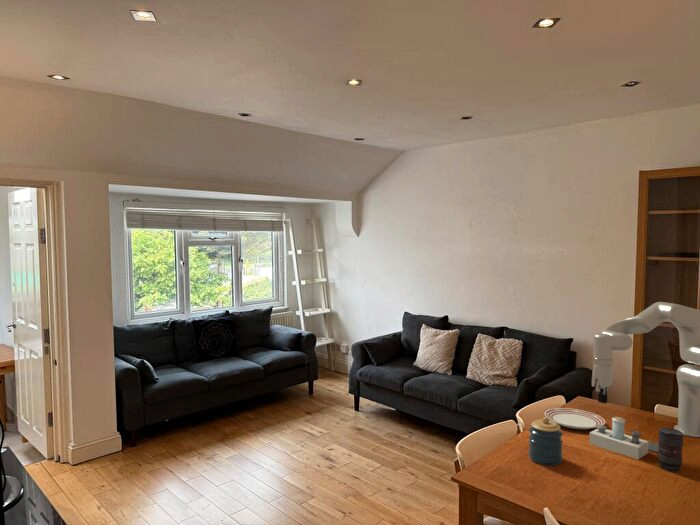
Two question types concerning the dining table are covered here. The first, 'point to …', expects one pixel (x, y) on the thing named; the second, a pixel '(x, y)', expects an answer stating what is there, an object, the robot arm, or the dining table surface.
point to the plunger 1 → (601, 428)
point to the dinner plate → (574, 418)
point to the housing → (619, 444)
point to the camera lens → (670, 449)
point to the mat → (653, 447)
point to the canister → (545, 442)
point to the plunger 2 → (635, 436)
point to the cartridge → (618, 428)
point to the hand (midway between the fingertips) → (602, 402)
